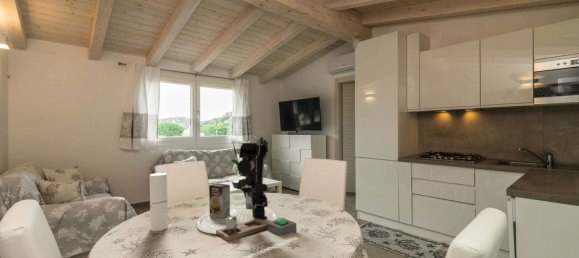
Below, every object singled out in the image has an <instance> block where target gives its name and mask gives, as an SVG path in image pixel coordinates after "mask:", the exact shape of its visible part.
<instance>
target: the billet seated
mask: <svg viewBox="0 0 579 258" xmlns="http://www.w3.org/2000/svg"><path fill="white" fill-rule="evenodd" d="M237 220H238V219H237V216H235V215H228V216H226V217H225V228H226V234H227V235H231V234H234V233H237V224H238V223H237V222H238V221H237Z"/></svg>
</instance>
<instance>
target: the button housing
mask: <svg viewBox="0 0 579 258" xmlns="http://www.w3.org/2000/svg"><path fill="white" fill-rule="evenodd" d="M285 219H286V224H285V225H282V226H280V225H278V224H277V219H276V220H272V221H269V222H267V223H266V224H267V231H269V232H272V233H273V234H276V235H277V236H279V237H281V236H284V235H286V234H290V233H293V234H295V233H297V222H294V221H293V220H289V219H287V218H285Z"/></svg>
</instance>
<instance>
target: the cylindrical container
mask: <svg viewBox="0 0 579 258" xmlns="http://www.w3.org/2000/svg"><path fill="white" fill-rule="evenodd" d="M167 174H168V173H167V172H158V173H151V174H149V213H150V214H149V215H150V217H149V218H150V219H149V220H150V221H149V223H150V231H151V232H161V231H163V230H166V229H168V226H169V224H168V223H169V221H168V219H169V218H168V181H167V180H168V175H167Z"/></svg>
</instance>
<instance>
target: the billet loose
mask: <svg viewBox="0 0 579 258" xmlns="http://www.w3.org/2000/svg"><path fill="white" fill-rule="evenodd" d="M255 208H256V205H255V206H253V204H252V196H251V194H250V193H249V191H248V192H246V199H245V209H246V210H252V209H255Z"/></svg>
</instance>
